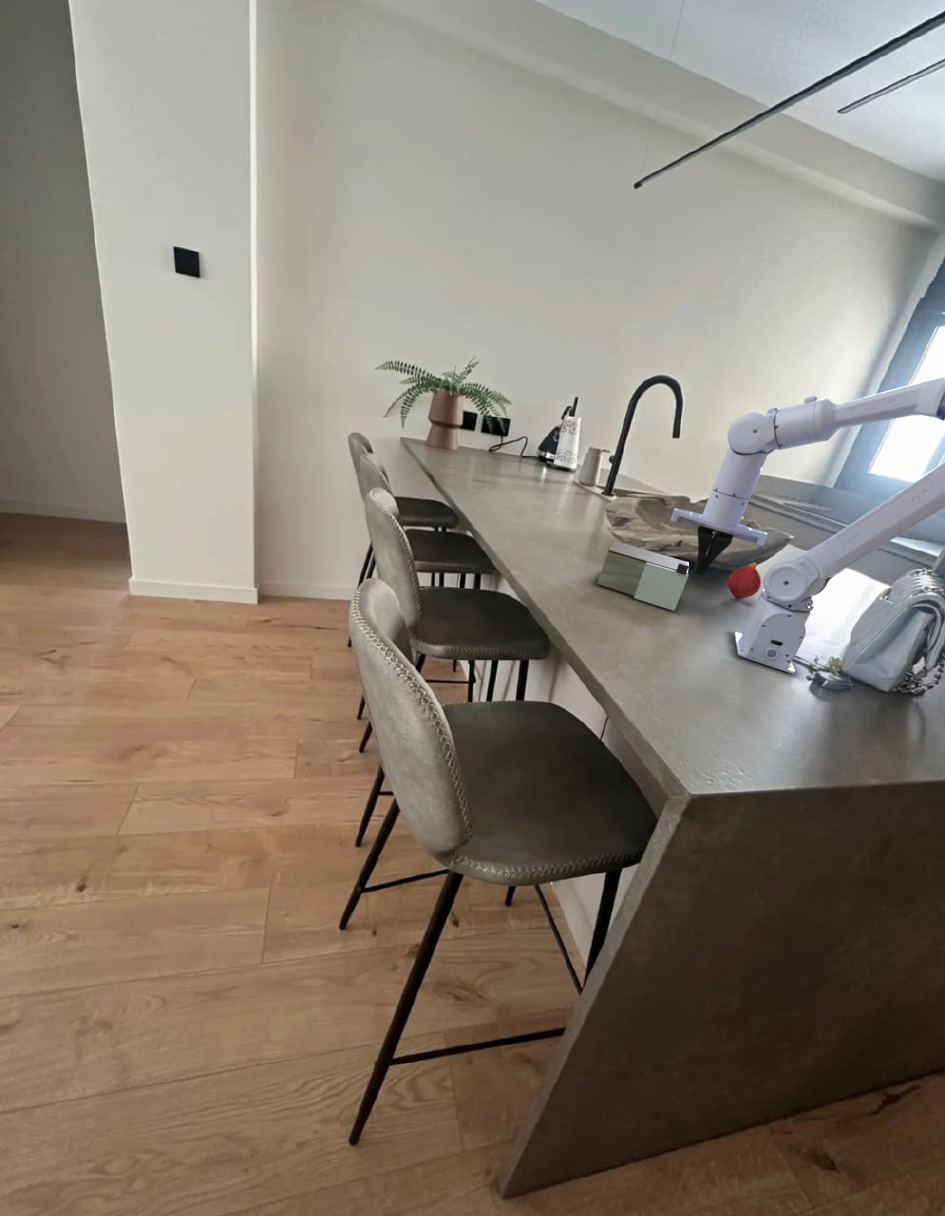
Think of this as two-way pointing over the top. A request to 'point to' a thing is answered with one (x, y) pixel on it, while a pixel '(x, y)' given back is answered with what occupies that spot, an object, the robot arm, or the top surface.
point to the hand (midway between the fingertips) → (698, 573)
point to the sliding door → (662, 585)
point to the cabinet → (630, 567)
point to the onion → (744, 581)
